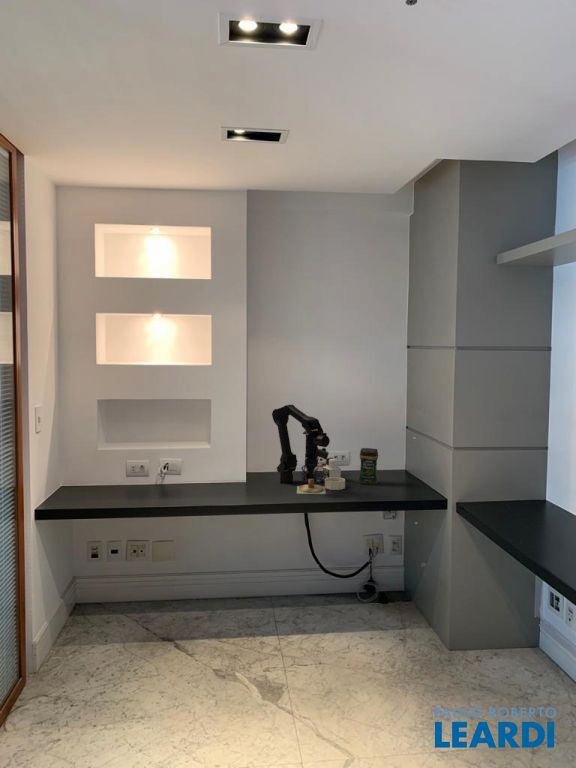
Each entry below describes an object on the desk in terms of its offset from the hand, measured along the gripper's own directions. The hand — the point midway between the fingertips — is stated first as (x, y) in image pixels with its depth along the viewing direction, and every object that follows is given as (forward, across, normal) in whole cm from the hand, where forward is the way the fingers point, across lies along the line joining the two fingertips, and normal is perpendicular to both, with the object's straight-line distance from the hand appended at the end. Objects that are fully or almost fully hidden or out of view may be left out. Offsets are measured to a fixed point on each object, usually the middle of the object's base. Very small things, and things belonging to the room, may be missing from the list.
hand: (311, 475), depth 287 cm
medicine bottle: (+8, +22, -11) cm, 26 cm away
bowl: (+8, +6, -12) cm, 16 cm away
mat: (+8, 0, 0) cm, 8 cm away
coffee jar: (+8, +17, -30) cm, 35 cm away
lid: (+7, 0, 0) cm, 7 cm away
